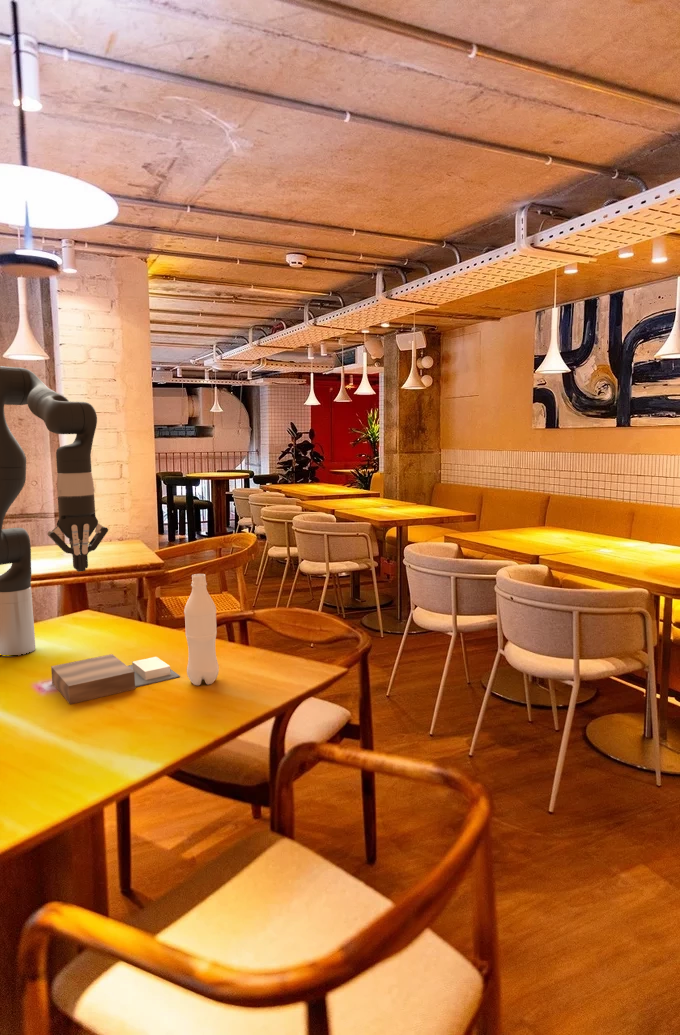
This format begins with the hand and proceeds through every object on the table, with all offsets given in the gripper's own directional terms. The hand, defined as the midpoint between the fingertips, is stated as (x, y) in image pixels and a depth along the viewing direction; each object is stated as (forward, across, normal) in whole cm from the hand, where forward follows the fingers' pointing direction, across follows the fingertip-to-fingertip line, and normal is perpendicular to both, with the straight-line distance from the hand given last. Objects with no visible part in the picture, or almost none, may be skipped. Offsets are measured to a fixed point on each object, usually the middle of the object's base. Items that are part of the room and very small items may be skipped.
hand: (80, 570), depth 147 cm
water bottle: (+27, -22, +14) cm, 37 cm away
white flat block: (+24, -15, 0) cm, 29 cm away
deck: (+27, -1, 0) cm, 27 cm away
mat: (+27, -14, 0) cm, 30 cm away
